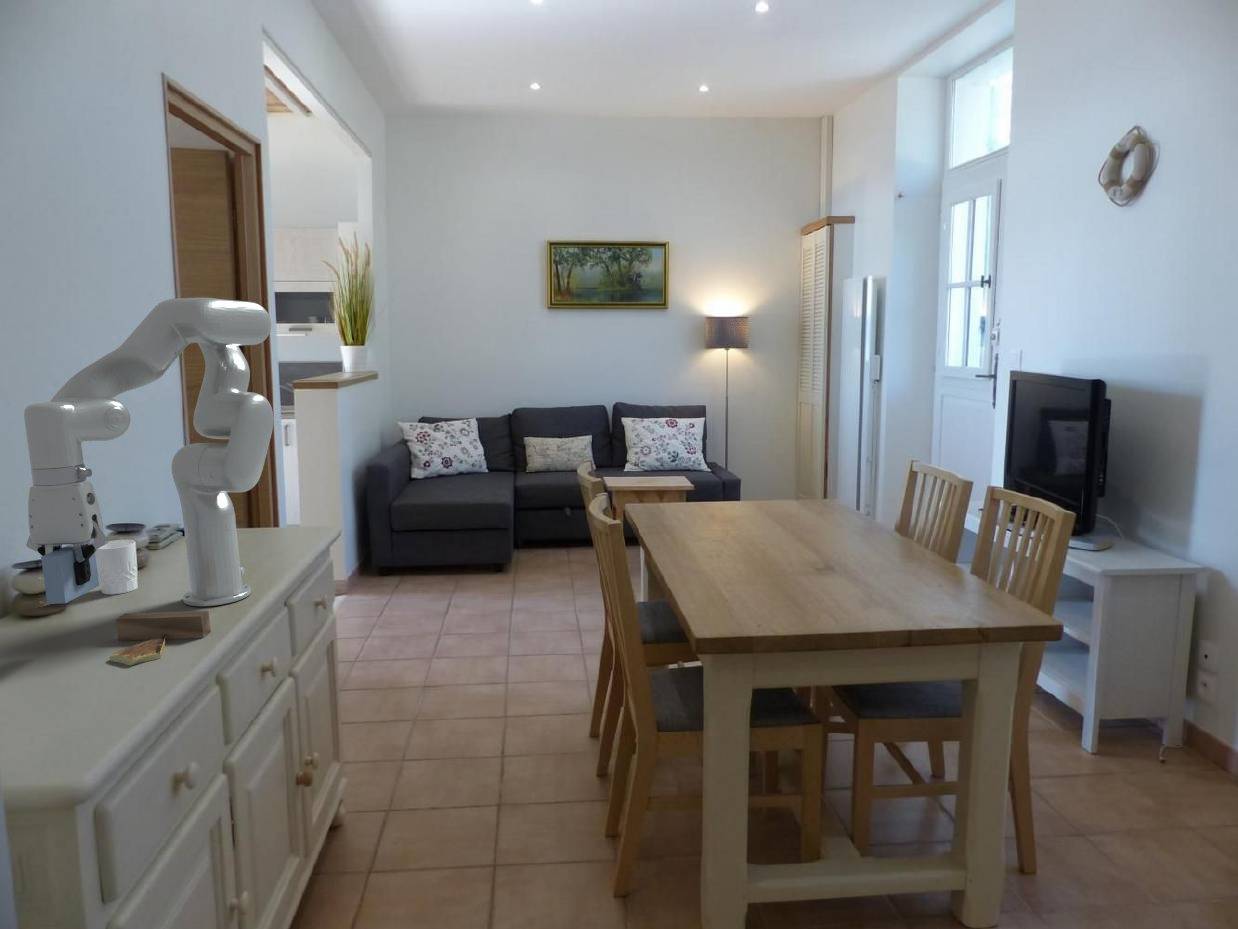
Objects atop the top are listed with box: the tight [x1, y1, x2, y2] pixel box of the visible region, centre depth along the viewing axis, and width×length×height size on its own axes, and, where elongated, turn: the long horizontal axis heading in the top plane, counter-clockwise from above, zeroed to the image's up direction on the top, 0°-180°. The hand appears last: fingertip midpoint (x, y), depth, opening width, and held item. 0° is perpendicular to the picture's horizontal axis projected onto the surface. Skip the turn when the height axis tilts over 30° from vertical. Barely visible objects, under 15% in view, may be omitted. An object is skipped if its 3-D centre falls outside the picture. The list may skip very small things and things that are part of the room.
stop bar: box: [115, 610, 212, 642], centre depth 163 cm, size 3×15×4 cm, turn 91°
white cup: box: [95, 539, 139, 595], centre depth 193 cm, size 8×8×10 cm
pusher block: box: [40, 540, 100, 605], centre depth 154 cm, size 3×10×8 cm, turn 1°
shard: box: [109, 634, 167, 666], centre depth 155 cm, size 11×8×2 cm
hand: (72, 582), depth 155 cm, fingers closed on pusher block, 3 cm apart
